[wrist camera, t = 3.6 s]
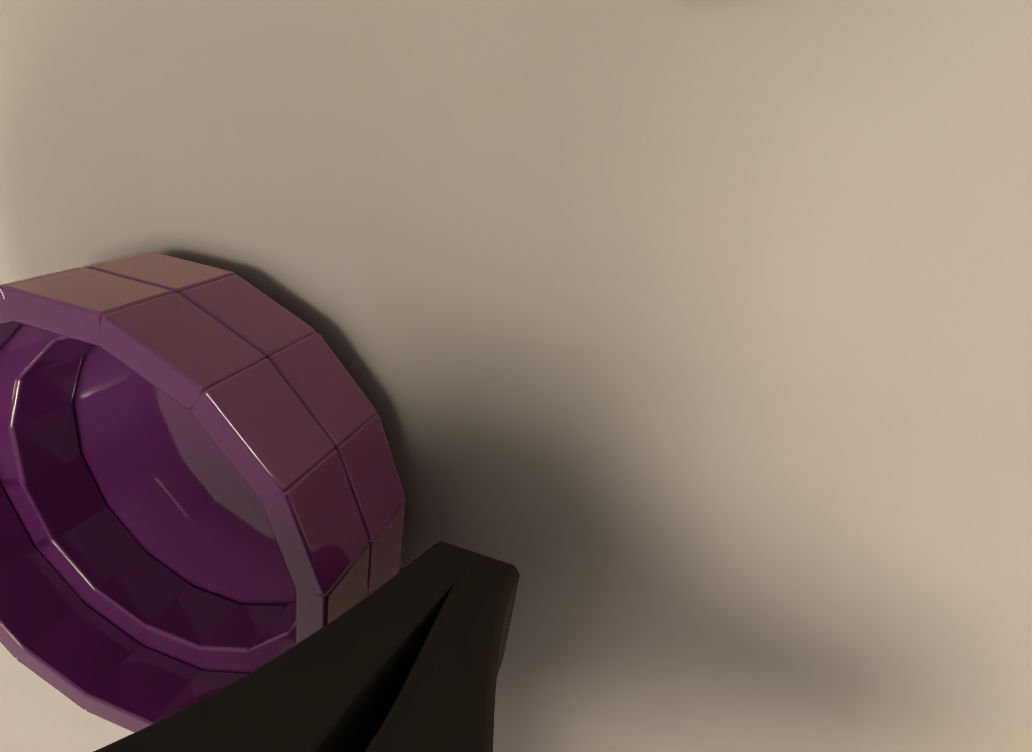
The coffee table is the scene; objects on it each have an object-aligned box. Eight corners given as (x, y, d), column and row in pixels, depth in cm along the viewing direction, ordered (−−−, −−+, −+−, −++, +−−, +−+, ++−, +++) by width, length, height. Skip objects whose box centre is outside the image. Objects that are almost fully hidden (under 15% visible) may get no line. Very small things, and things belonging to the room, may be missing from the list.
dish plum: (400, 676, 13) (320, 817, 10) (87, 557, 15) (-51, 651, 12) (437, 309, 10) (332, 378, 7) (27, 209, 12) (-182, 234, 9)
